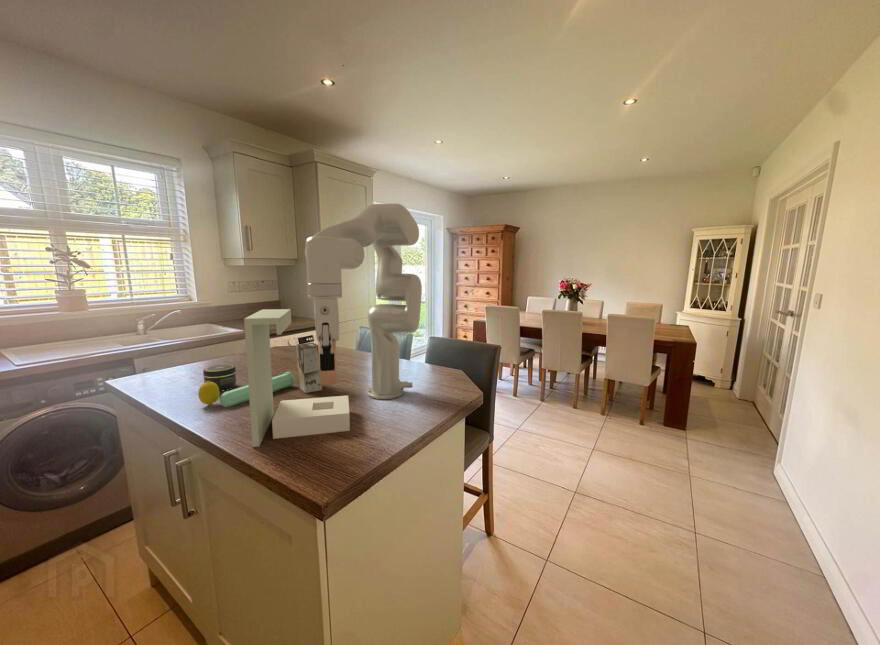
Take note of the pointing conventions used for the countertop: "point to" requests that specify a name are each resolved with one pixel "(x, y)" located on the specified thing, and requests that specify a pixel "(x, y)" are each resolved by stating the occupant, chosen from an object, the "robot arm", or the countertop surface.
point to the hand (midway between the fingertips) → (328, 366)
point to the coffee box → (308, 367)
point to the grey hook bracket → (261, 366)
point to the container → (243, 392)
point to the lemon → (208, 393)
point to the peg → (328, 376)
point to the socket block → (311, 416)
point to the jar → (221, 376)
